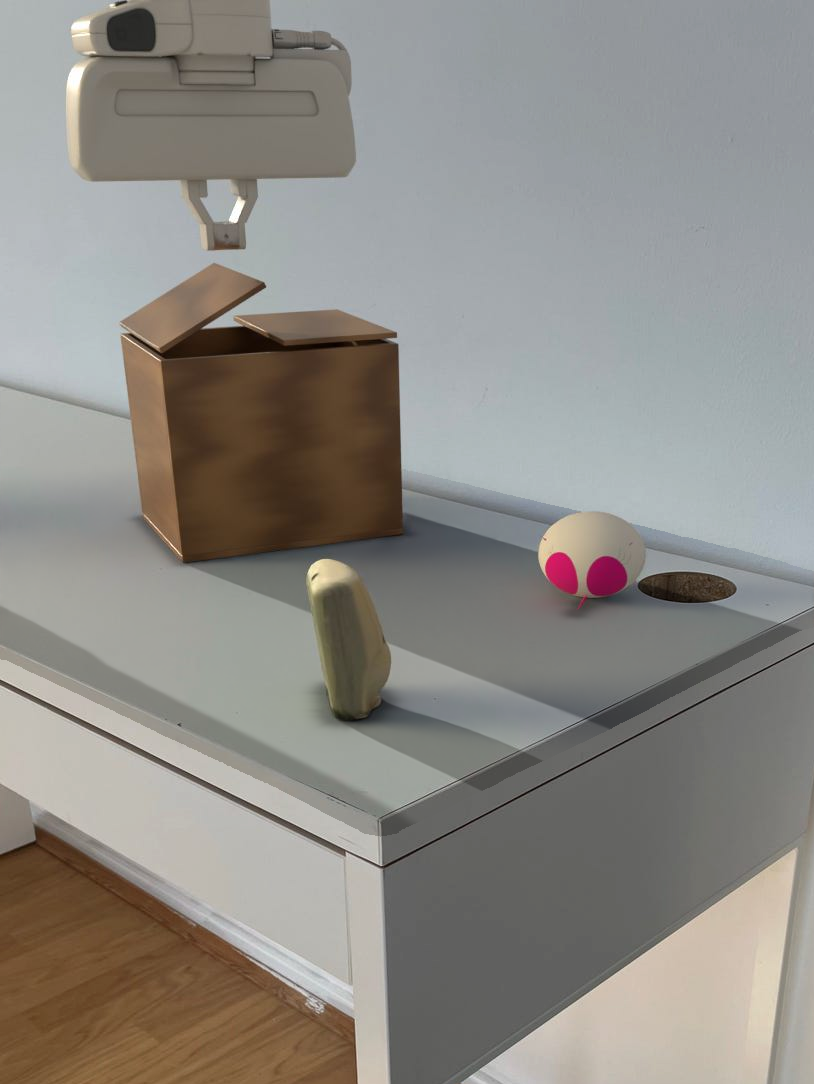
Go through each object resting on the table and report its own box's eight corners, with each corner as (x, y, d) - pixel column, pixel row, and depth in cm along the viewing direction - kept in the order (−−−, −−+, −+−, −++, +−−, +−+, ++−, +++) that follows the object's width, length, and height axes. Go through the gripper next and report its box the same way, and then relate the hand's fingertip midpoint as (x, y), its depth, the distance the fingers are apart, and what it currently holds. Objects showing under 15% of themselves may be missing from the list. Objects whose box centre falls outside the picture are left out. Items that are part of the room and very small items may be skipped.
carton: (182, 563, 100) (159, 348, 92) (142, 518, 110) (118, 322, 102) (403, 534, 106) (398, 332, 99) (346, 494, 117) (338, 309, 109)
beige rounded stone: (279, 699, 78) (269, 566, 74) (347, 675, 81) (341, 547, 77) (341, 728, 74) (334, 591, 70) (410, 702, 77) (407, 569, 73)
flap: (161, 353, 92) (158, 348, 92) (121, 327, 102) (118, 322, 102) (266, 287, 93) (264, 281, 93) (216, 267, 103) (214, 262, 103)
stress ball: (533, 640, 95) (516, 582, 89) (557, 552, 98) (542, 490, 92) (636, 649, 93) (626, 590, 87) (658, 558, 96) (649, 496, 90)
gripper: (334, 32, 96) (342, 240, 103) (46, 24, 89) (76, 250, 96) (365, 30, 92) (371, 248, 98) (64, 21, 84) (94, 259, 91)
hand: (224, 249), depth 97 cm, fingers closed
